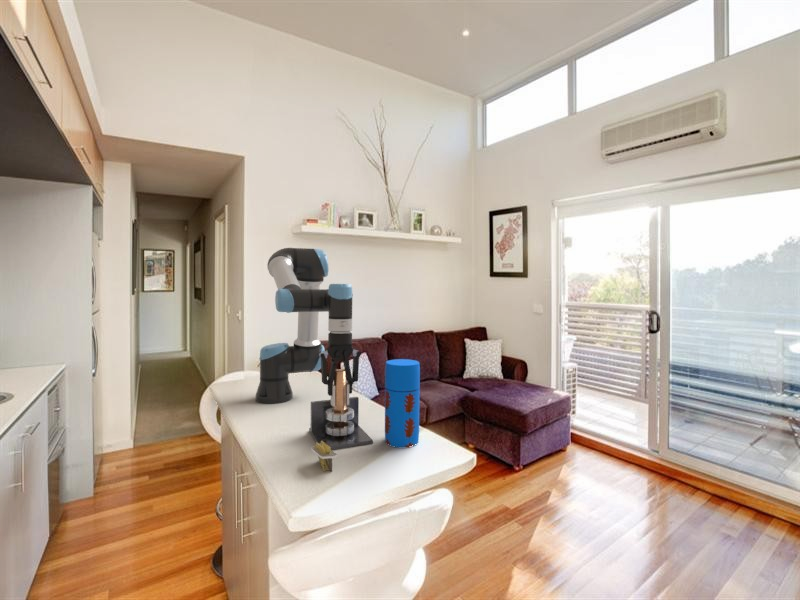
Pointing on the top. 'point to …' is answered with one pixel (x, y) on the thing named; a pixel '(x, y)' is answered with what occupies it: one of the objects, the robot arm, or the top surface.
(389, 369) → the thermos
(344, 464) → the top surface
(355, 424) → the collar stand
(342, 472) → the top surface
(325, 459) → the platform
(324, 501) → the top surface
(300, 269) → the robot arm
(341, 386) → the copper tube
